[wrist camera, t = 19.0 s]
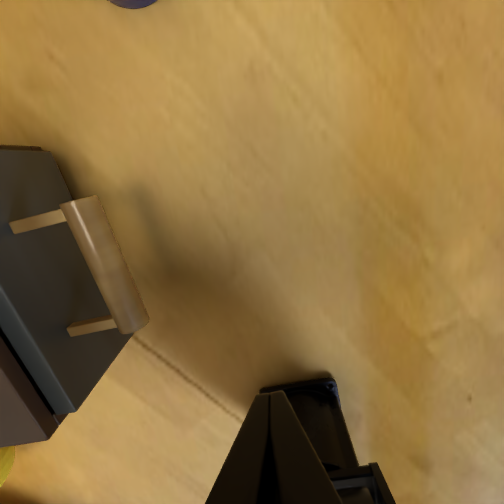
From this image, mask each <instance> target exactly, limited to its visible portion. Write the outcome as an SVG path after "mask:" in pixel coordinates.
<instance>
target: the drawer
mask: <svg viewBox="0 0 504 504" xmlns="http://www.w3.org/2000/svg"><path fill="white" fill-rule="evenodd" d="M148 322H149V316H148V314H147V311H146V309H145V307H144V304H143V302H142V300H141V297H140V295H139V293H138V290H137V288H136V286H135V283H134V281H133V279H132V276H131V274H130V272H129V269H128V267H127V265H126V262H125V260H124V258H123V255H122V253H121V250H120V248H119V246H118V243H117V241H116V239H115V236H114V234H113V232H112V229H111V227H110V225H109V222H108V220H107V218H106V215H105V213H104V211H103V208H102V206H101V204H100V201H99V199H98V197H97V195H94V196H89V197H85V198H81V199H77V200H73V199H72V197H71V195H70V192H69V190H68V188H67V186H66V184H65V181H64V179H63V177H62V175H61V173H60V170H59V168H58V166H57V164H56V162H55V160H54V157H53V155H52V153H51V152H50V151H27V150H0V336H1V337H2V339H3V340H4V342H5V344H6V345H7V347H8V348H9V350H10V351H11V353H12V354H13V356H14V357H15V359H16V361H17V362H18V364H19V365H20V367H21V368H22V370H23V371H24V373H25V374H26V376H27V378H28V379H29V381H30V382H31V384H32V385H33V387H34V388H35V390H36V391H37V393H38V395H39V396H41V395H42V394H43V395H44V396H45V398H46V399H47V401H48V402H49V404H50V406H51V407H52V409H53V410H54V412H55V413H56V415H61V414H67V413H72V412H76V411H77V410H78V409H79V407H80V406H81V405H82V403H83V402H84V400H85V399H86V398H87V396H88V395H89V394H90V392H91V391H92V389H93V388H94V387H95V385H96V384H97V383H98V381H99V380H100V379H101V377H102V376H103V374H104V373H105V372H106V370H107V369H108V368H109V366H110V365H111V363H112V362H113V361H114V359H115V358H116V357H117V355H118V354H119V353H120V351H121V350H122V348H123V347H124V346H125V344H126V343H127V342H128V340H129V339H130V337H131V336H132V335H133V332H135V331H137V330H139V329H141V328H142V327H144V326H145V325H146V324H147V323H148Z"/></svg>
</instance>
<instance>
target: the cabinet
mask: <svg viewBox="0 0 504 504" xmlns="http://www.w3.org/2000/svg"><path fill="white" fill-rule="evenodd" d="M0 150H27V151H42V150H41V148H40V147H36V146H15V145H0ZM68 414H69V413H67V414H61V415H56V413H55V412H54V410H53V409H52V407H51V406H50V404H49V402H48V401H47V399H46V398H45V396H44V395H43V394H42V395H41V396H39V395H38V393H37V391H36V390H35V388H34V387H33V385H32V384H31V382H30V381H29V379H28V378H27V376H26V374H25V373H24V371H23V370H22V368H21V367H20V365H19V364H18V362H17V361H16V359H15V357H14V356H13V354H12V353H11V351H10V350H9V348H8V347H7V345H6V344H5V342H4V340H3V339H2V337H1V336H0V448H2V447H9V446H15V445H21V444H27V443H34V442H40V441H46V440H49V439H50V437H51V436H52V435H53V433H54V432H55V431H56V429H57V428H58V425H60V424H61V423H62V422H63V420H64V419H65V418H66V416H67V415H68Z"/></svg>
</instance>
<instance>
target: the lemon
mask: <svg viewBox="0 0 504 504" xmlns="http://www.w3.org/2000/svg"><path fill="white" fill-rule="evenodd" d="M14 458H15V447H14V446H9V447H2V448H0V487H1V486H2V484H3V483H4V481H5V480H6V478H7V476H8V474H9V472H10V470H11V468H12V465H13V462H14Z"/></svg>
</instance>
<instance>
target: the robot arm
mask: <svg viewBox="0 0 504 504" xmlns="http://www.w3.org/2000/svg"><path fill="white" fill-rule="evenodd" d="M328 384H330V385H328ZM368 464H369V465H365V466H359V463H358V460H357V457H356V454H355V451H354V448H353V445H352V442H351V438H350V435H349V432H348V429H347V426H346V423H345V420H344V417H343V413H342V410H341V406H340V400H339V395H338V389H337V384H336V381H335V379H333V378H323V379H317V380H311V381H305V382H299V383H293V384H287V385H281V386H275V387H269V388H263V389H261V390H260V391H259V394H258V395H256V397H255V399H254V401H253V403H252V405H251V407H250V409H249V411H248V414H247V416H246V418H245V420H244V422H243V424H242V426H241V428H240V430H239V433H238V435H237V437H236V439H235V441H234V443H233V445H232V447H231V450H230V452H229V454H228V456H227V458H226V460H225V462H224V464H223V466H222V469H221V471H220V473H219V475H218V477H217V479H216V481H215V483H214V485H213V488H212V490H211V492H210V494H209V496H208V498H207V500H206V502H205V504H396V503H395V501H394V499H393V496H392V494H391V492H390V490H389V488H388V485H387V483H386V481H385V479H384V477H383V474H382V472H381V470H380V468H379V466H378V464H377V462H375V463H368Z"/></svg>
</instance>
